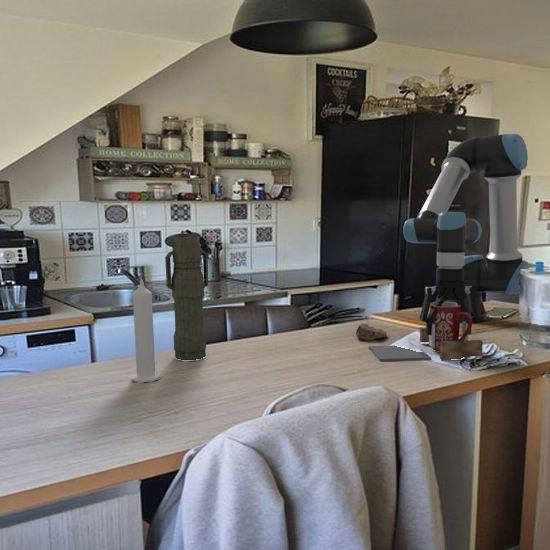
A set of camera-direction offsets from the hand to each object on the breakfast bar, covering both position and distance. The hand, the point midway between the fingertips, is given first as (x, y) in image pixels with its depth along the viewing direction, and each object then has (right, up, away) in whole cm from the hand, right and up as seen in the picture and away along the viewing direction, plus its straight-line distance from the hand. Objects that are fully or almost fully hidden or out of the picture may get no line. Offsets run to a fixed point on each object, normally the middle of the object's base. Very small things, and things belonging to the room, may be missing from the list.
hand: (448, 345), depth 158 cm
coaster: (-15, -2, -1) cm, 15 cm away
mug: (+1, -2, 0) cm, 2 cm away
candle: (-82, -6, -21) cm, 84 cm away
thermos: (-74, -3, -1) cm, 74 cm away
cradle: (0, -2, 0) cm, 2 cm away
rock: (-19, 0, +18) cm, 26 cm away
